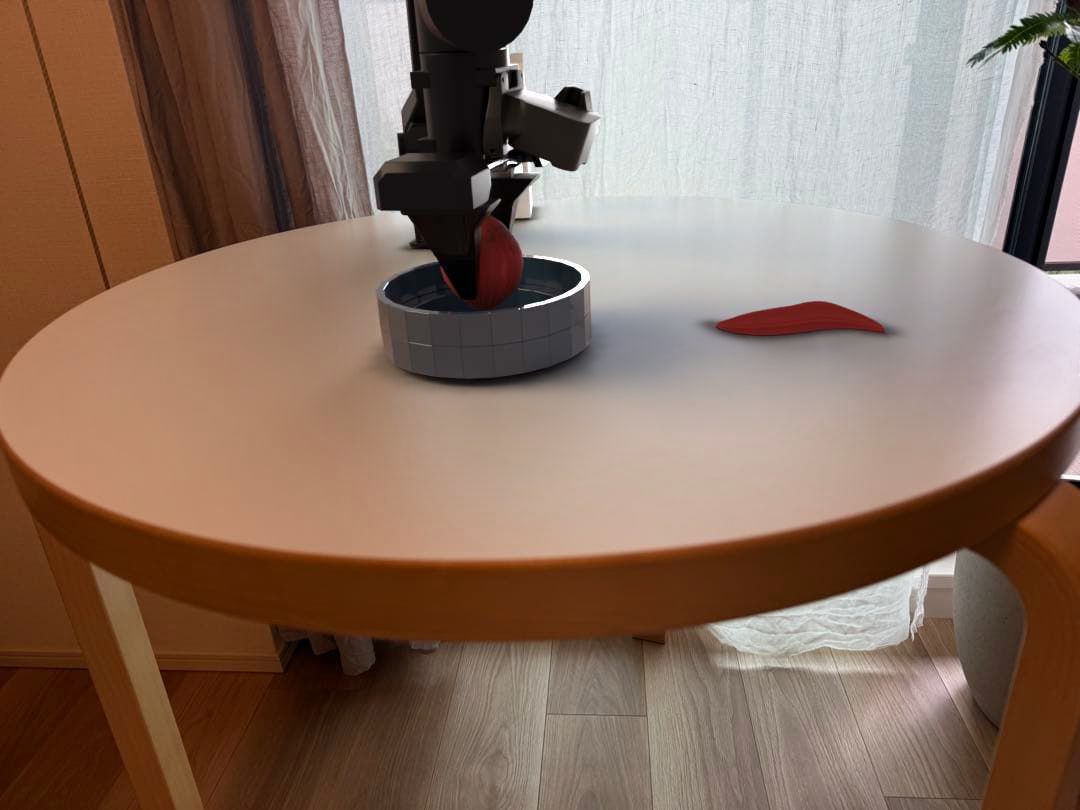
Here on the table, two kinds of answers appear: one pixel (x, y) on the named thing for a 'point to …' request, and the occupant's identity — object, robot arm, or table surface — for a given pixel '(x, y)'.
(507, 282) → the onion
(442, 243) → the robot arm
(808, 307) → the cayenne pepper
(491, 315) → the bowl
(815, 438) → the table surface
